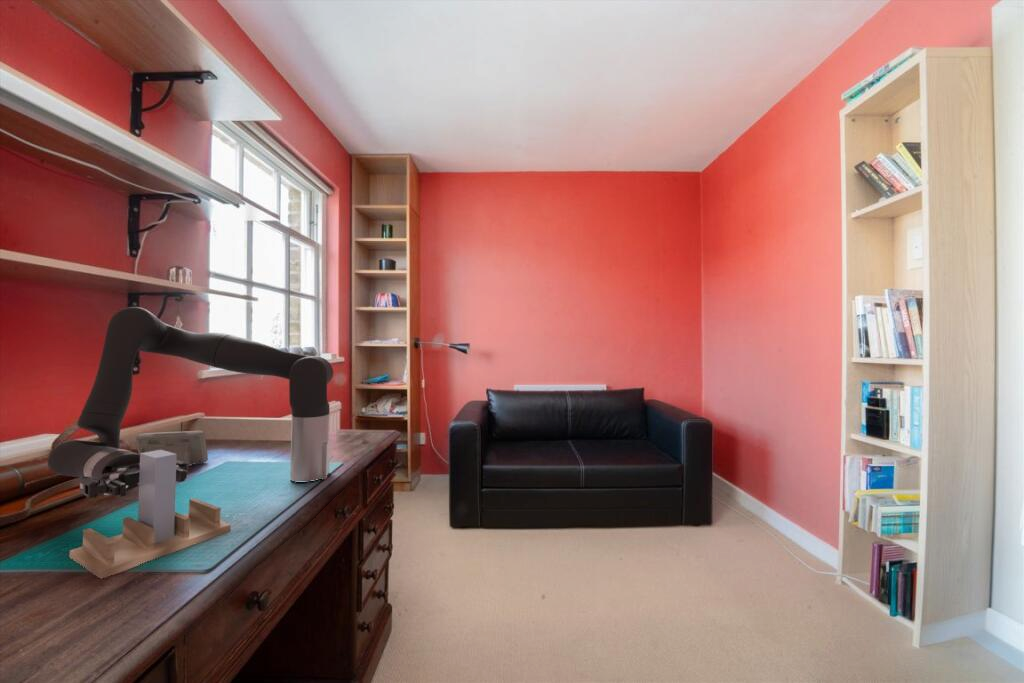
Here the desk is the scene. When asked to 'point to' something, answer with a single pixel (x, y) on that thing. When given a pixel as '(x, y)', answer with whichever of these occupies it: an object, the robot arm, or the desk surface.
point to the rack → (147, 540)
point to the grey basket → (176, 445)
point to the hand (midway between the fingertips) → (154, 483)
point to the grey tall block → (157, 492)
